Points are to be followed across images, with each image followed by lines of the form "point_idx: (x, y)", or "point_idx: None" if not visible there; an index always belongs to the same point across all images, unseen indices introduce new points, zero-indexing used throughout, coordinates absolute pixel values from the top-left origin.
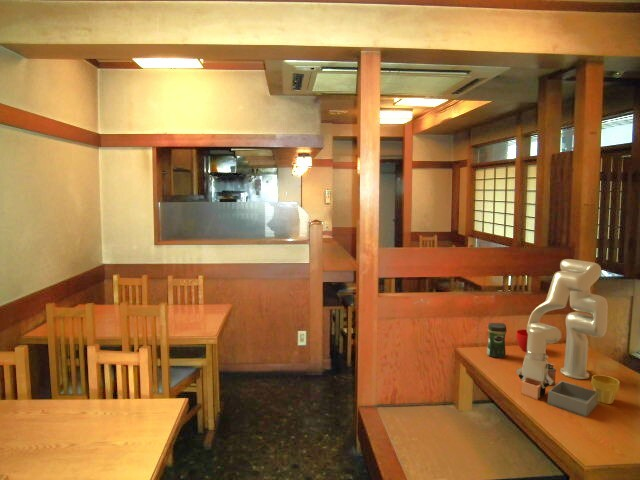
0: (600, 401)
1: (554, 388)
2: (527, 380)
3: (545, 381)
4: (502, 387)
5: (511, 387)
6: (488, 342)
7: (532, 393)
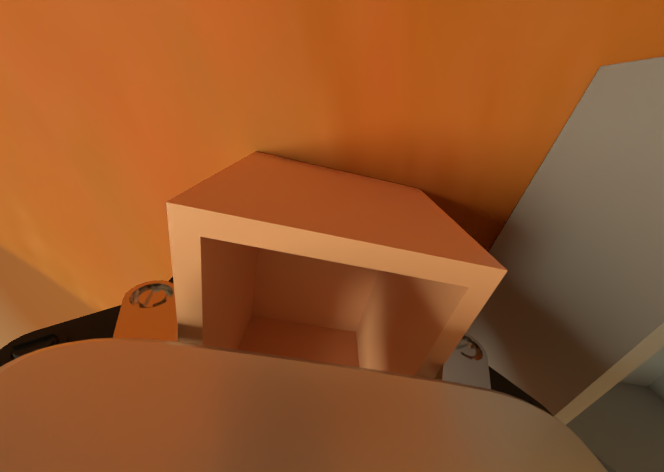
0: None
1: (572, 402)
2: (214, 336)
3: (490, 286)
4: (75, 282)
5: (123, 241)
6: None
7: (326, 359)
